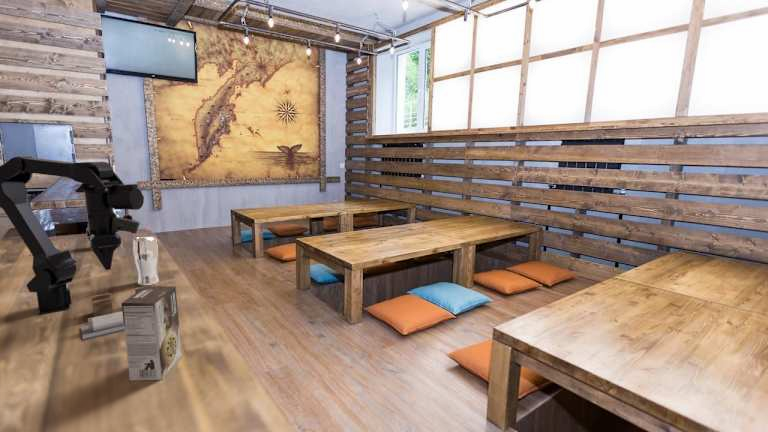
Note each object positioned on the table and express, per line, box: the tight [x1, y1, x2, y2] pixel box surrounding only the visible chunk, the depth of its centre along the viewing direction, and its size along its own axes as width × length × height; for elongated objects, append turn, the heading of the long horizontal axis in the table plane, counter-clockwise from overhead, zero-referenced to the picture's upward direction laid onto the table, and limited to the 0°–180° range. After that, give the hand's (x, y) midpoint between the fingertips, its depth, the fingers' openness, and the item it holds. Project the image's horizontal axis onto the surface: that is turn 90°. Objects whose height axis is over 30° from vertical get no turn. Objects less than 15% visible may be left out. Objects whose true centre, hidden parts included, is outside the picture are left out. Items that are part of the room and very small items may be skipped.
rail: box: [87, 310, 124, 333], centre depth 99 cm, size 17×3×3 cm, turn 130°
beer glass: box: [132, 236, 160, 286], centre depth 127 cm, size 7×7×15 cm
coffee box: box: [121, 285, 183, 382], centre depth 78 cm, size 9×6×16 cm
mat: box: [80, 324, 125, 341], centre depth 99 cm, size 20×8×1 cm, turn 130°
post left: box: [91, 292, 114, 317], centre depth 103 cm, size 4×5×5 cm
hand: (106, 265), depth 105 cm, fingers open, 9 cm apart
